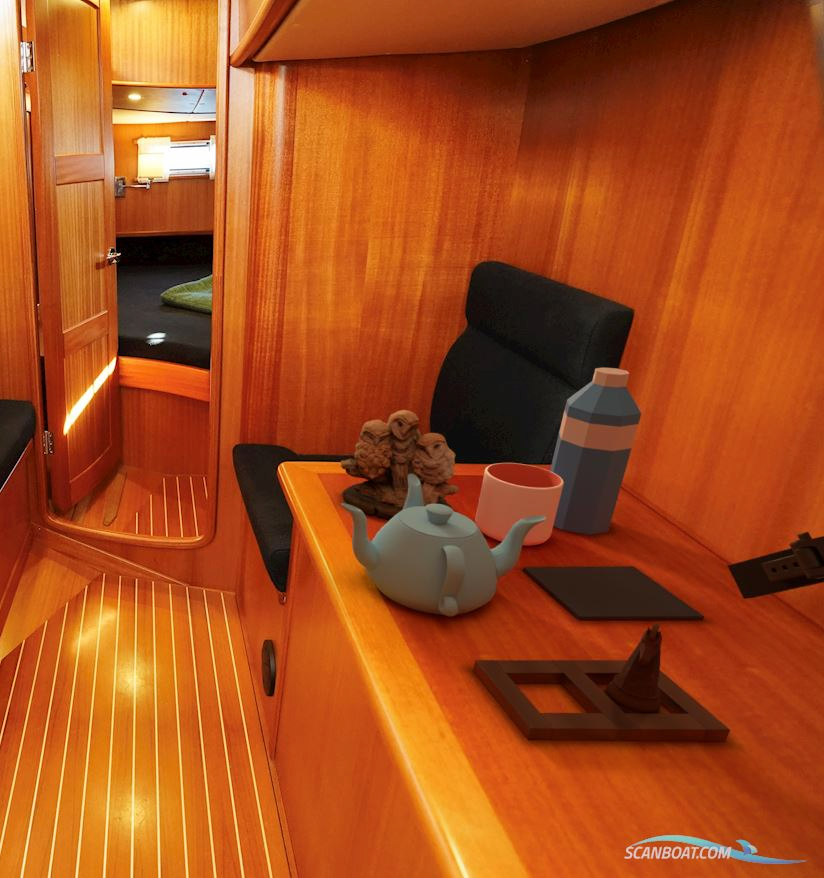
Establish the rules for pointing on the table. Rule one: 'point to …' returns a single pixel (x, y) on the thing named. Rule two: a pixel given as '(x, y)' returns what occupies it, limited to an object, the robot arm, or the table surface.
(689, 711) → the rack
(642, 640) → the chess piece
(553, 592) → the felt mat
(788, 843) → the table surface
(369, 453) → the owl figurine
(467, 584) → the teapot
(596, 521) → the water bottle
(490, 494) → the cup
